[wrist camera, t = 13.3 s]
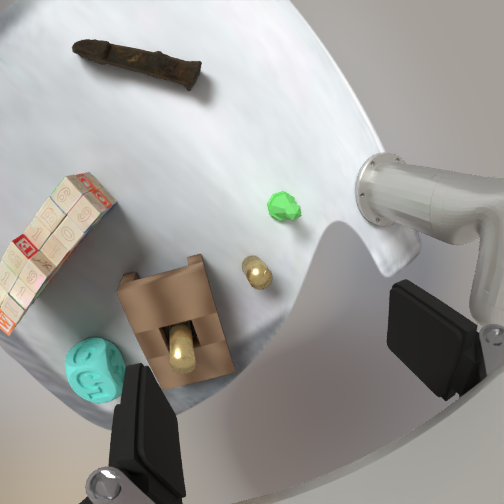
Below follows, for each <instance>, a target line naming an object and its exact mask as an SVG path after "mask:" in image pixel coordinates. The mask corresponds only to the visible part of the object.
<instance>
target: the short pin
mask: <svg viewBox="0 0 504 504" xmlns="http://www.w3.org/2000/svg"><path fill="white" fill-rule="evenodd" d="M242 270H243V272H244V274H245V275H246V277H247V279H248V281H249V282H250V284H251V286H252V287H253V288H255V289H264V288H266V287H268V286H269V285H270V283H271V281H272V274H271V272H270V271H269V269H268V268H267V267H266V265H265V264H264V263H263V262H262V260H261V259H260V258H259V257H257V256H249V257H247V258H246V259H245V260H244V261H243V263H242Z"/></svg>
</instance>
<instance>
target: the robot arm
mask: <svg viewBox="0 0 504 504" xmlns="http://www.w3.org/2000/svg"><path fill="white" fill-rule="evenodd" d="M355 193H356V201H357V205H358V207H359V210H360V211H361V213H362V215H363V216H364V217H365V218H366V219H367V220H368V221H370V222H371V223H374V224H376V225H380V226H388V225H392V224H394V223H399V224H401V225H404V226H406V227H409V228H411V229H414V230H416V231H419V232H421V233H424V234H426V235H429V236H431V237H434V238H436V239H438V240H441V241H443V242H445V243H448V244H452V245H464V244H467V243H470V242H472V241H474V240H476V239H477V238H479V237H480V245H479V254H478V260H477V265H476V270H475V275H474V279H473V284H472V289H471V294H470V299H469V308H470V313H471V315H472V317H473V319H474V320H475V321H476V322H477V323H478V324H480V325H481V326H482V329H481V330H480V332H479V333H478V332H477V331H476V330H477V325H476V324H475V323H473V322H471V321H470V320H469V319H467V318H466V317H464V316H463V315H461V314H460V313H458V312H457V311H455V310H454V309H452V308H451V307H449V306H448V305H446V304H445V303H443V302H442V301H440V300H439V299H437V298H436V297H434V296H432V295H431V294H429V293H428V292H426V291H425V290H423V289H421V288H420V287H418V286H417V285H415V284H413V283H412V282H410V281H409V280H407V279H406V280H402V281H400V282H397V283H395V284H394V285H393V286H392V289H391V290H390V298H389V317H388V332H387V345H388V347H389V349H390V350H391V351H392V352H393V353H394V354H395V355H396V356H397V357H398V358H399V359H400V360H401V361H402V362H403V363H404V364H405V365H406V366H407V367H408V368H409V369H410V370H411V371H412V372H413V373H414V374H415V375H416V376H417V377H418V378H419V379H420V380H421V381H422V382H423V383H424V384H425V385H426V386H427V387H428V388H429V389H430V390H431V391H432V392H433V393H434V394H435V395H437V396H438V397H442V398H443V399H444V400H445V401H447V400H448V399H450V398H451V397H453V396H454V395H455V393H456V392H457V393H458V394H459V399H458V400H456V401H455V402H454V403H452V404H451V405H450V406H448V407H447V408H445V409H444V410H443V411H441V412H440V413H438V414H437V415H435V416H434V417H433V418H431V419H429V420H428V421H426V422H425V423H424V424H422V425H420V426H418V427H417V428H415V429H414V430H412V431H410V432H409V433H407V434H405V435H404V436H402V437H401V438H399V439H397V440H395V441H394V442H392V443H390V444H388V445H386V446H384V447H383V448H381V449H379V450H377V451H375V452H373V453H371V454H370V455H367V456H365V457H363V458H361V459H359V460H357V461H355V462H353V463H351V464H348V465H346V466H344V467H341V468H339V469H337V470H335V471H332V472H330V473H327V474H325V475H322V476H320V477H317V478H315V479H312V480H310V481H307V482H304V483H301V484H299V485H296V486H293V487H290V488H287V489H284V490H281V491H277V492H274V493H271V494H267V495H264V496H260V497H256V498H253V499H249V500H246V501H241V502H237V503H233V504H504V178H495V177H483V176H477V175H470V174H464V173H459V172H453V171H447V170H442V169H436V168H429V167H423V166H416V165H409V164H406V163H405V161H404V160H402V159H401V158H400V157H399V156H397V155H395V154H391V153H378V154H376V155H373V156H372V157H370V158H369V159H368V160H367V161H366V162H365V163H364V164H363V166H362V167H361V169H360V171H359V174H358V176H357V181H356V188H355ZM85 489H86V494H87V495H88V496H87V497H86V498H85V499H84V500H83V501H82V502H81V503H79V504H183V503H182V498H183V497H185V496H186V491H185V484H184V477H183V469H182V460H181V452H180V443H179V432H178V422H177V417H176V415H175V413H174V411H173V409H172V407H171V406H170V404H169V402H168V401H167V399H166V397H165V395H164V394H163V392H162V390H161V388H160V386H159V384H158V383H157V381H156V379H155V377H154V375H153V373H152V371H151V369H150V368H149V366H144V365H143V364H142V363H138V364H134V365H129V366H126V368H125V374H124V381H123V388H122V396H121V404H117V405H116V406H115V409H114V416H113V424H112V433H111V442H110V454H109V466H108V467H101V468H98V469H97V470H95V471H93V472H92V473H91V474H90V475H89V477H88V479H87V481H86V486H85Z"/></svg>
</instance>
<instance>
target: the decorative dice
mask: <svg viewBox="0 0 504 504" xmlns="http://www.w3.org/2000/svg"><path fill="white" fill-rule="evenodd" d="M125 368H126V366H125V363H124V360H123V357H122V355H121V353H120V351H119V349H118V348H117V347H116V346H115V345H114V344H113V343H111V342H110V341H108V340H105V339H102V338H98V337H94V338H89V339H86V340H83V341H81V342H80V343H78V344H76V345H75V346H74V347H73V348H72V349H71V350H70V351H69V352H68V354H67V356H66V360H65V371H66V376H67V379H68V382H69V384H70V386H71V387H72V389H73V390H74V391H75V392H76V393H77V394H78V395H79V396H80V397H82V398H83V399H85V400H87V401H90V402H94V403H106V402H110V401H112V400H114V399H116V398H117V397H118V396H120V395H121V394H122V388H123V381H124V374H125Z"/></svg>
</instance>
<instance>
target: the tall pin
mask: <svg viewBox="0 0 504 504" xmlns="http://www.w3.org/2000/svg"><path fill="white" fill-rule="evenodd" d="M169 338H170V367H171V369H172V370H173V371H175V372H176V373H179V374H187V373H190V372H191V371H193V370H194V368H195V366H196V362H195V355H194V348H193V340H192V332H191V323H190V320H187V321H184V322H180V323H176V324H172V325H169Z"/></svg>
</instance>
